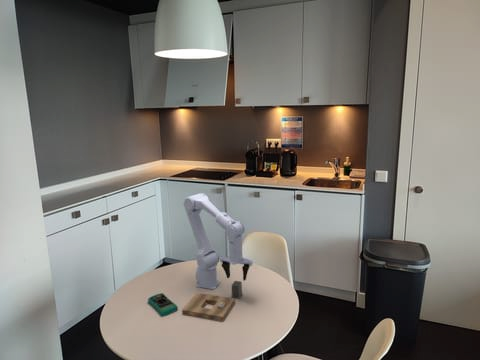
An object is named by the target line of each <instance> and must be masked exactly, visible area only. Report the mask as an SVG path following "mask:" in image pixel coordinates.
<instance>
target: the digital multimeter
mask: <svg viewBox="0 0 480 360" xmlns="http://www.w3.org/2000/svg"><path fill="white" fill-rule="evenodd" d="M147 302H148V304H150V306H152V307H153V308H154V309H155V311H157V312H158V313H159V315H160V316H161V317H164V316H168V315H171V314H172V313H175V312H177V311H179V308H178V305H177V304H175V303H174V302H173V301H172V300H170V299H169V298H168V297H167V296H166V295H165V294H164V293H163V292H160V293H157V294H154V295H152V296H150V297H148V298H147Z"/></svg>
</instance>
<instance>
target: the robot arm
mask: <svg viewBox="0 0 480 360" xmlns="http://www.w3.org/2000/svg"><path fill="white" fill-rule="evenodd" d="M183 206H184V209H185V212H186V215H187V219H188V221H189V224H190V227H191V230H192V232H193V236H194V239H195V242H196V244H197V248H198V251H197V253H196V255H195V256H196V262H197V267H196V269H195V282H196V285H195V287H197V288H203V289H209V290H215V289H216V287H218V285H219V284H220V282H221V280H218V278H217V277H218V276H217V274H218V272H217V267H218V263H221V267H222V269H223V270H224V273H225V276H226V278H227V279H229V278H230V276H231V265H242V267H241V269H242V279H243V281H246V280H247V275H248V272H249V269H250V267H252V266H253V263H254V262H253V259H249V258H246V257H243V234H244V233H245V225H244V224H243V223H242V222H241V221H237V220H235V219H233V218H232V217H231V216H229V215H228V213H227V212H224V211H222V212H221V211H220V210H219V209H218V208H217V207H216V206H215V205H214V204H213V203H212V202H211V201H210V200H209V196H207V195H206V194H205V192H204V193H203V192H199V193H197V194H192V195H190V196H186V197H184V201H183ZM202 210H203V211H205V212H206V213H208V214H209V215H210V216H212V217H213V218H214V219H215V222H216V224H217V225H219V226H220V227H221V228H222V229H223V230H224V231H225V234H226V236H227V240H228V251H229V252H228V254H229V256H219V254H218V251H217V250H216V248H215V247H213V246H212V245H210V242H209V239H208V236H207V234H206V230H205V227H204V224H203V221H202V219H201V218H202V217H201V216H200V213H201V212H202Z"/></svg>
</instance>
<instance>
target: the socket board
mask: <svg viewBox="0 0 480 360" xmlns="http://www.w3.org/2000/svg"><path fill="white" fill-rule="evenodd" d="M235 299H236V298H232V297H224V296H219V295H212V294H207V293H206V294H205V293H201V292H200V293H199V292H196V293H195V294H194V295H193V296H192V298H191V299H189V301H188V302H187V303H186V305H184V307H183V308H182V309H181V314H182V315H186V316H192V317H198V318H202V319H208V320H214V321H219V322H224V321H225V319H226V317H227V316H228V314H229V313H230V311H231V310H232V307H233V306H234V305H235ZM206 303H207V304H206ZM208 304H209V305H213V307H212V308H207V307H205V306H206V305H208Z"/></svg>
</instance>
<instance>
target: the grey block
mask: <svg viewBox="0 0 480 360" xmlns="http://www.w3.org/2000/svg"><path fill="white" fill-rule="evenodd" d="M242 294H243V283H242V281H238V280H234V281H233V283H232V284H231V298H233V299H238V300H239V299H240V297H241V296H242Z"/></svg>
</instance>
